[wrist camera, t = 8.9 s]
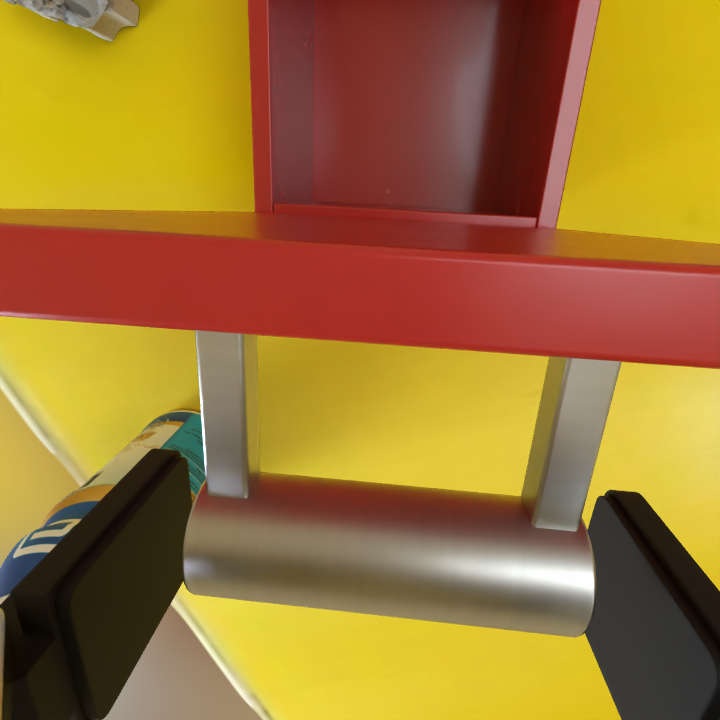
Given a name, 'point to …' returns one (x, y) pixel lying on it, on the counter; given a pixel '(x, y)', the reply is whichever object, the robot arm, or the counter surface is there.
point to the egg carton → (87, 14)
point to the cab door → (391, 327)
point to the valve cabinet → (417, 107)
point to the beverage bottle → (107, 489)
